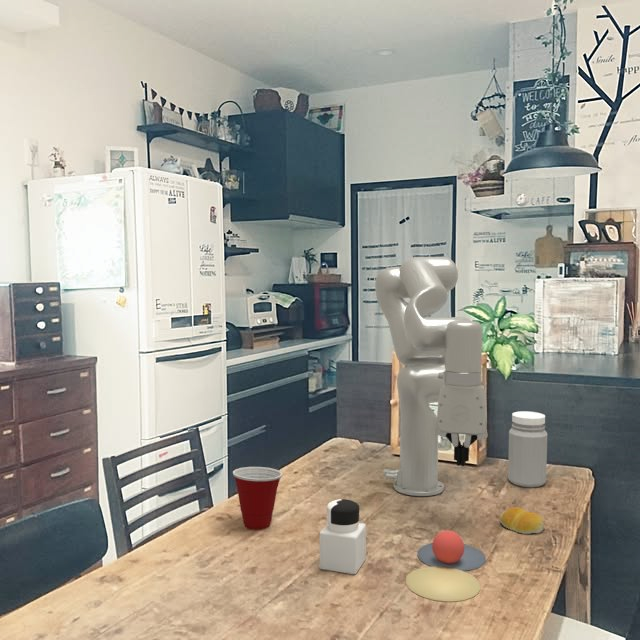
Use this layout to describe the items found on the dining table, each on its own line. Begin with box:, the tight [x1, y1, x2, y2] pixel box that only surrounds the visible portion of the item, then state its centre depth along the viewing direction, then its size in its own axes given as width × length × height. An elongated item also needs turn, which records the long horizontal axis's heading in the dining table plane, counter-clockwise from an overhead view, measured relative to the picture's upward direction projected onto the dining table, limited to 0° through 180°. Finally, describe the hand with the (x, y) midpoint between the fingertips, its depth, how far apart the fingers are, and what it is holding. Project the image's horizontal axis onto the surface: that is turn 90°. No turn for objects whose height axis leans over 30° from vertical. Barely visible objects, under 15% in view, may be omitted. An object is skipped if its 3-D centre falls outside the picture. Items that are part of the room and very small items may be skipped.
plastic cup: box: [232, 466, 284, 531], centre depth 147 cm, size 11×11×12 cm
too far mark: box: [405, 566, 481, 603], centre depth 120 cm, size 13×13×1 cm
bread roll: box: [499, 506, 545, 535], centre depth 146 cm, size 8×9×4 cm
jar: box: [507, 410, 548, 488], centre depth 176 cm, size 10×10×18 cm
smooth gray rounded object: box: [417, 542, 487, 572], centre depth 131 cm, size 13×13×1 cm
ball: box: [431, 530, 465, 564], centre depth 128 cm, size 6×6×6 cm
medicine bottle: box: [318, 498, 367, 575], centre depth 127 cm, size 7×7×12 cm
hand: (461, 463), depth 144 cm, fingers closed
